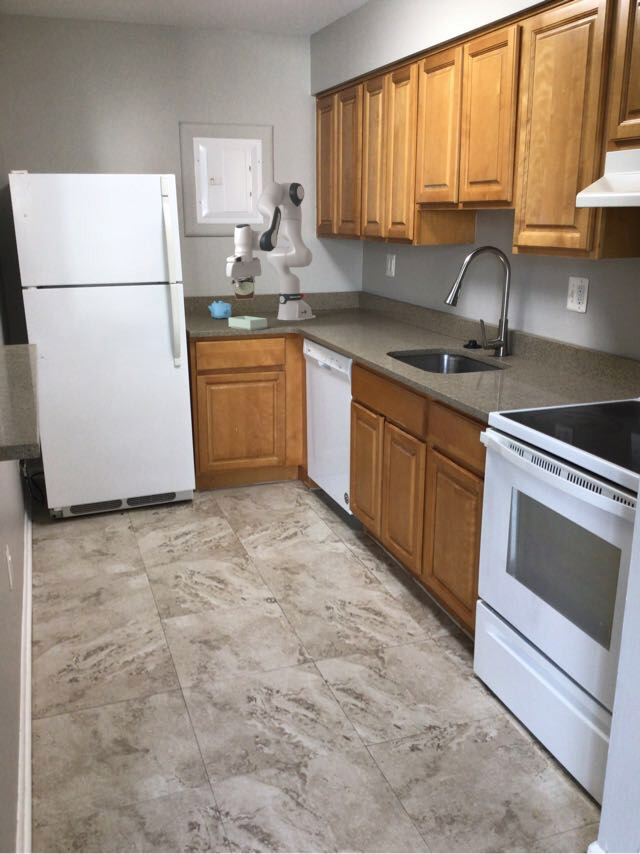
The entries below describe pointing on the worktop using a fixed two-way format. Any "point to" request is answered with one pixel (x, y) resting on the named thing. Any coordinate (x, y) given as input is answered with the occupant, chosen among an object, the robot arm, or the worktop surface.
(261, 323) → the crate
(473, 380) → the worktop surface
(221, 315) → the teapot
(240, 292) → the food container
